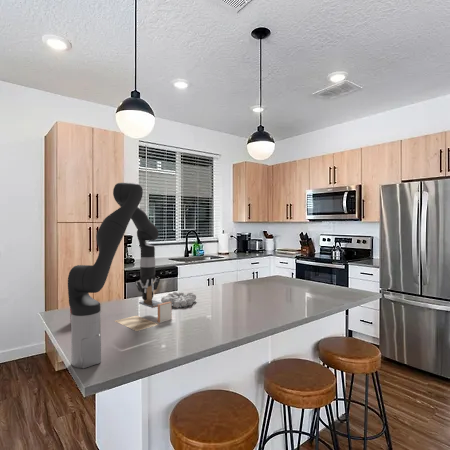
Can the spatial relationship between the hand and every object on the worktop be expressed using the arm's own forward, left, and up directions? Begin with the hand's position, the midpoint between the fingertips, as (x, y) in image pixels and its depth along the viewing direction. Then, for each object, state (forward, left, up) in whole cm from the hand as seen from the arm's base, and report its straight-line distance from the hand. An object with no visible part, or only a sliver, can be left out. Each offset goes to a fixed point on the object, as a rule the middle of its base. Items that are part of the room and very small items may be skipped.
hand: (147, 299), depth 161 cm
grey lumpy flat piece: (+8, -26, -9) cm, 29 cm away
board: (-7, +11, -8) cm, 16 cm away
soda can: (+15, +29, -9) cm, 34 cm away
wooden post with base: (-3, 0, -2) cm, 4 cm away
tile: (-14, 0, -8) cm, 17 cm away
